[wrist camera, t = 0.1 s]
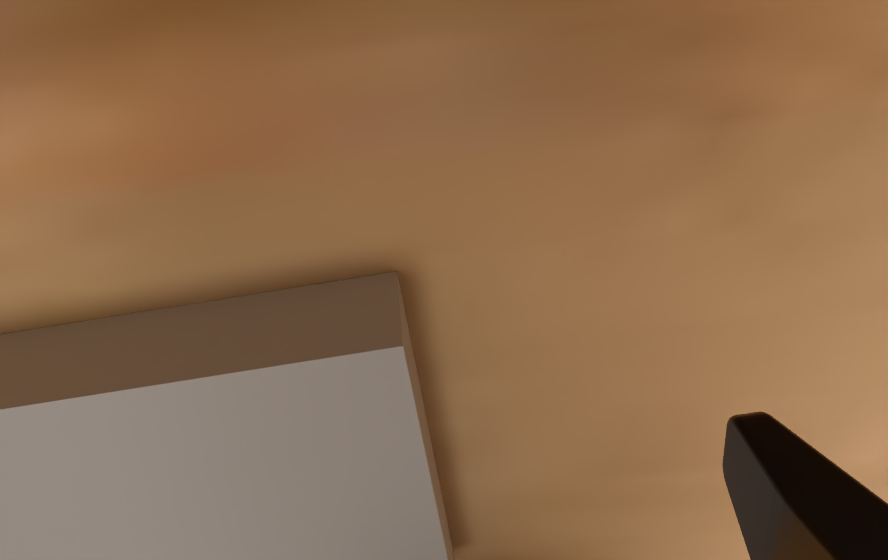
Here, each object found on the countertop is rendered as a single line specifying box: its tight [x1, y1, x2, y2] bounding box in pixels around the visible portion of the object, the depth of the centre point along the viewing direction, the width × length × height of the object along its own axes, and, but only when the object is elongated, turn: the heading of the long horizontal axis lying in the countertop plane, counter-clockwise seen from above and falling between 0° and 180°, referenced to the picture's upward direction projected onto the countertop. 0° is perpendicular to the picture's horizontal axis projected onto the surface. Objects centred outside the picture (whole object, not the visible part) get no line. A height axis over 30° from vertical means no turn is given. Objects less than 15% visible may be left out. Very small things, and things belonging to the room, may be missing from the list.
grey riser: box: [0, 271, 454, 560], centre depth 29 cm, size 14×18×4 cm
